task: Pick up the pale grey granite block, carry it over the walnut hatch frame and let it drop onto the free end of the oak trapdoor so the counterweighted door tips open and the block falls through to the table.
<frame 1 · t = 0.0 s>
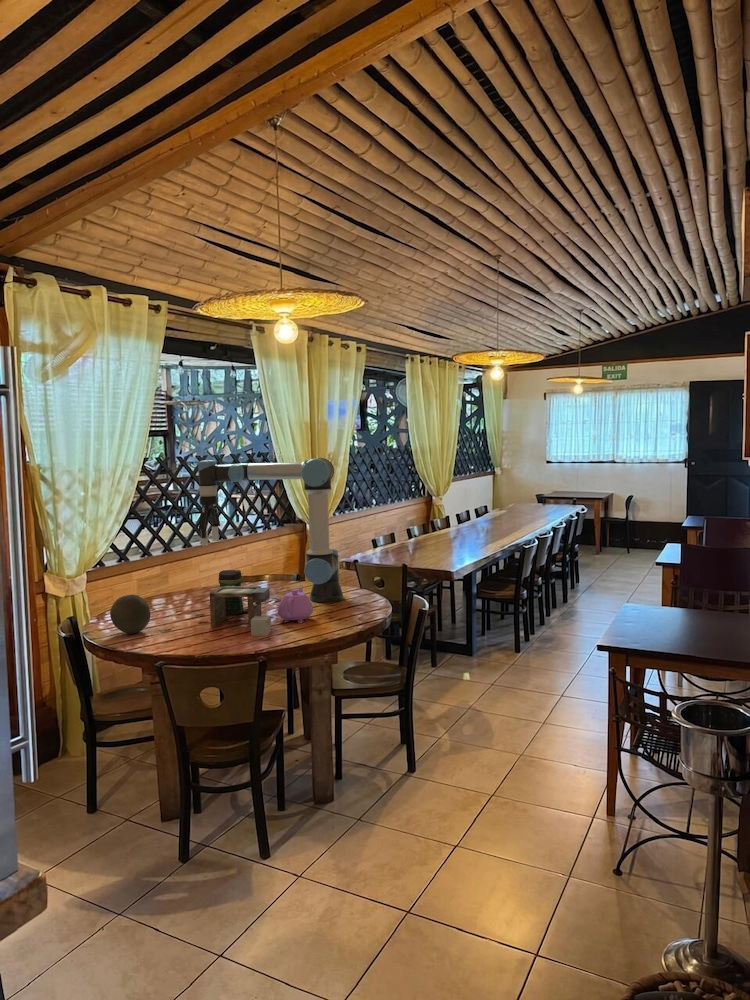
hand: (210, 543, 299), 28 cm above the table, fingers open, 13 cm apart
hatch frame: (236, 622, 271), on the table
pink rounded figure: (296, 620, 275), on the table
grey cube: (261, 633, 256), on the table
coffee jar: (231, 613, 287), on the table
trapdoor: (243, 595, 270), point 11 cm above the table, hinge at 0.0°
dark grey ball: (131, 634, 258), on the table
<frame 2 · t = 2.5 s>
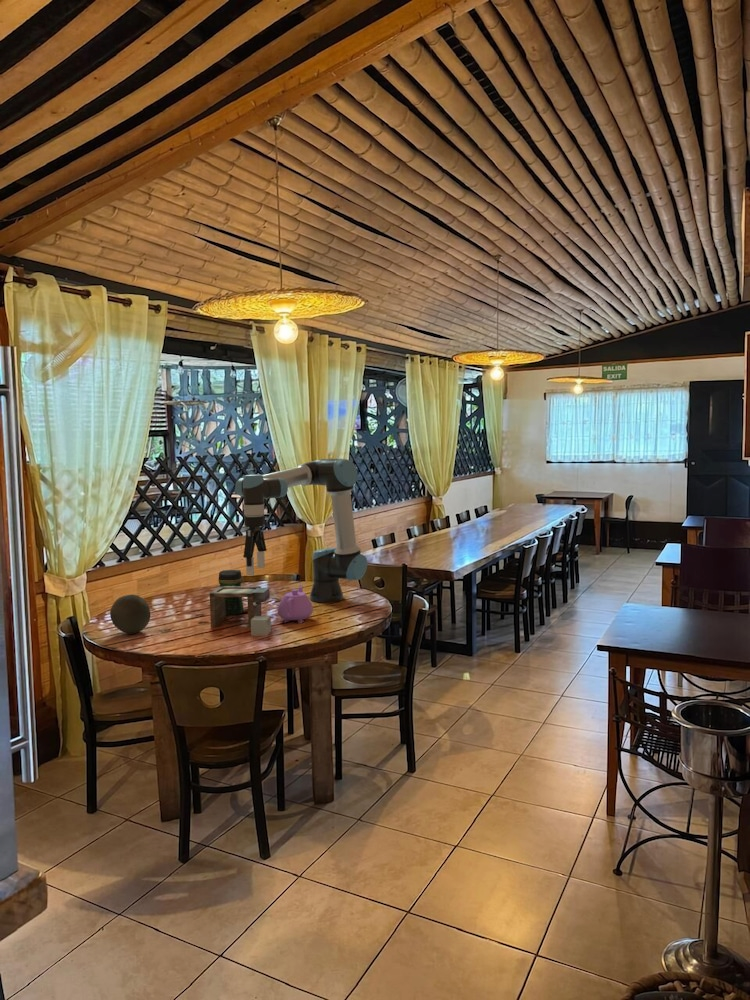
hand: (255, 571, 256), 23 cm above the table, fingers open, 13 cm apart
nothing on the table moved.
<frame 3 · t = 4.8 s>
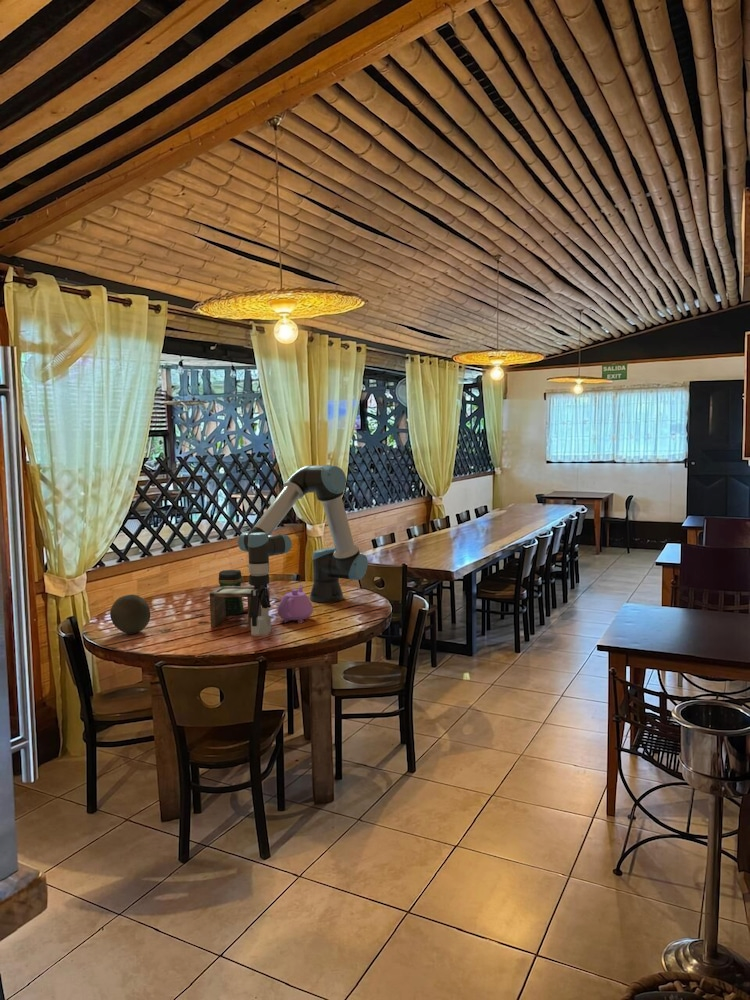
hand: (260, 629, 255), 1 cm above the table, fingers open, 13 cm apart
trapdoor: (243, 594, 270), point 11 cm above the table, hinge at 0.4°
everything else where it was.
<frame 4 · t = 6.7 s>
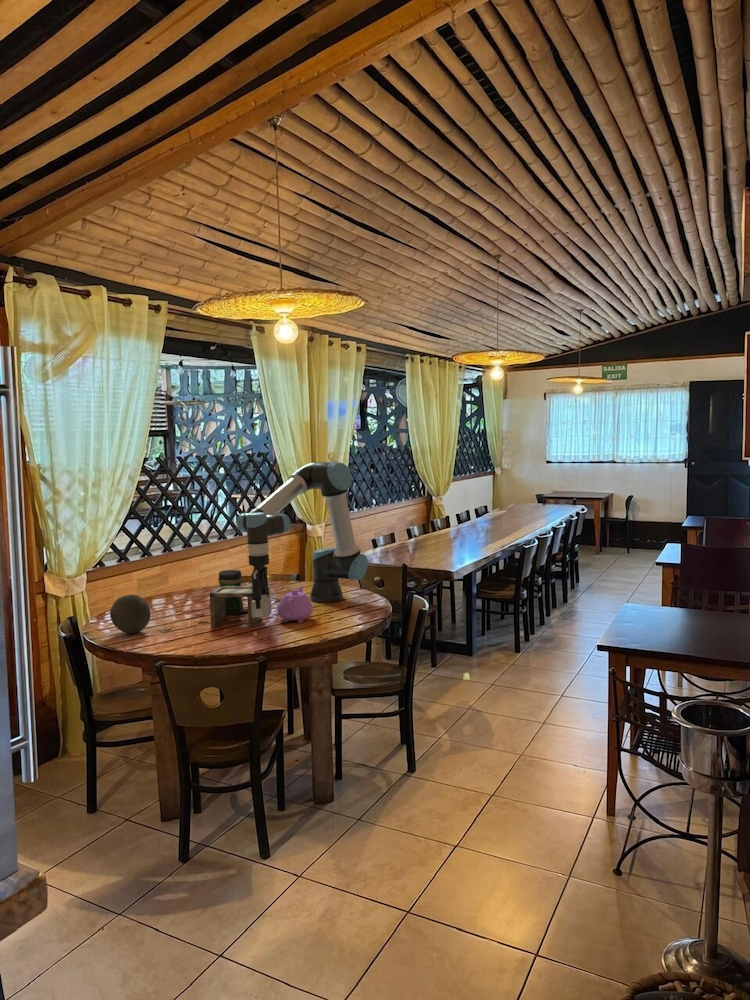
hand: (261, 614, 256), 7 cm above the table, fingers closed on grey cube, 6 cm apart
grey cube: (261, 615, 256), point 7 cm above the table, touching gripper
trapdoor: (243, 594, 270), point 11 cm above the table, hinge at 0.1°
everything else where it was.
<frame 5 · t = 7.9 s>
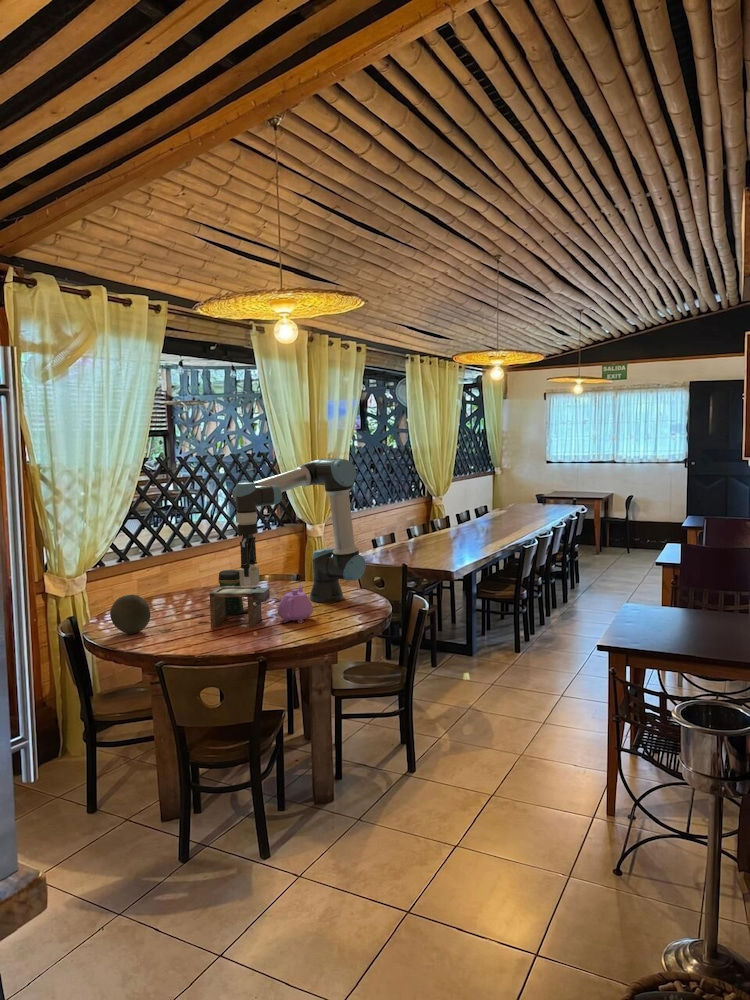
hand: (249, 582, 259), 18 cm above the table, fingers closed on grey cube, 6 cm apart
grey cube: (249, 583, 259), point 18 cm above the table, touching gripper
everything else where it was.
when the fingers open (14 cm above the table, at t = 9.6 s): grey cube drops 10 cm and tips over, resting on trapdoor.
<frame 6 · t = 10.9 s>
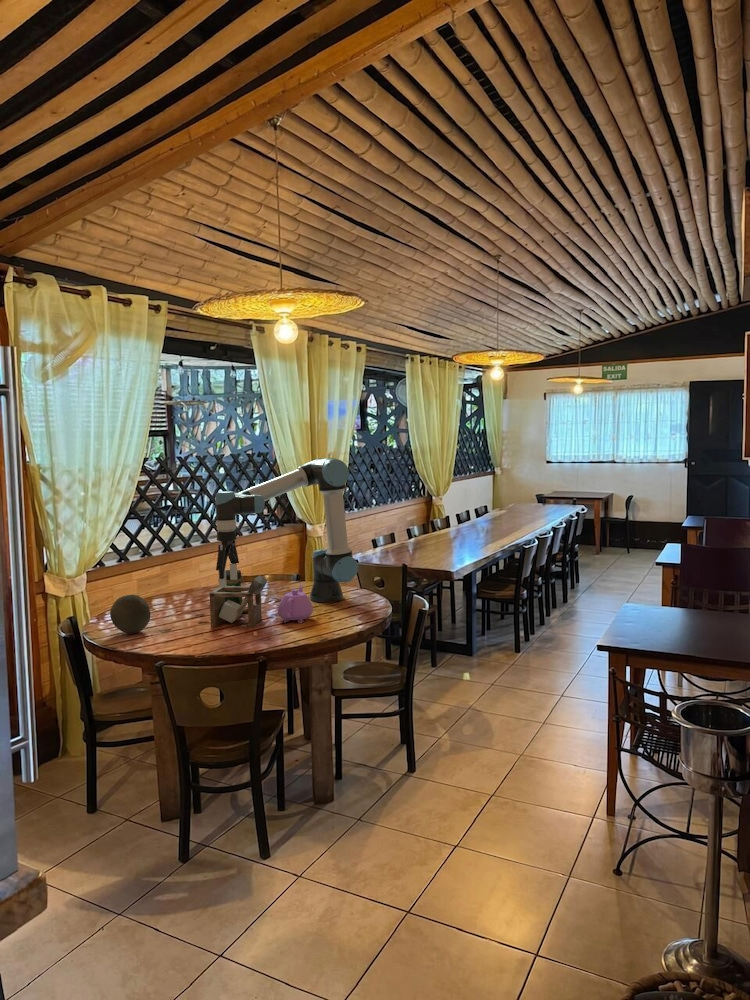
hand: (228, 583, 270), 16 cm above the table, fingers open, 13 cm apart
grey cube: (237, 614, 271), point 3 cm above the table, tilted 65°, touching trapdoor
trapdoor: (249, 599, 270), point 9 cm above the table, hinge at -59.7°, touching grey cube
everything else where it was.
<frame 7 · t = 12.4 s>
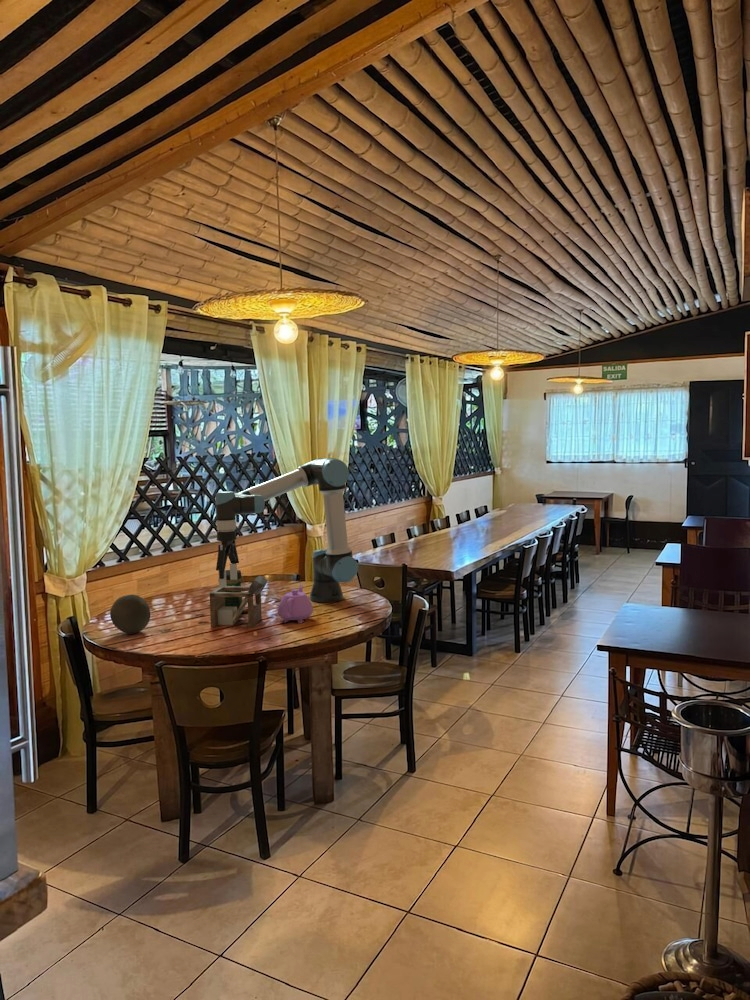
hand: (228, 583, 270), 16 cm above the table, fingers open, 13 cm apart
grey cube: (234, 615, 271), point 3 cm above the table, tilted 90°
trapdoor: (249, 599, 270), point 9 cm above the table, hinge at -58.4°
everything else where it was.
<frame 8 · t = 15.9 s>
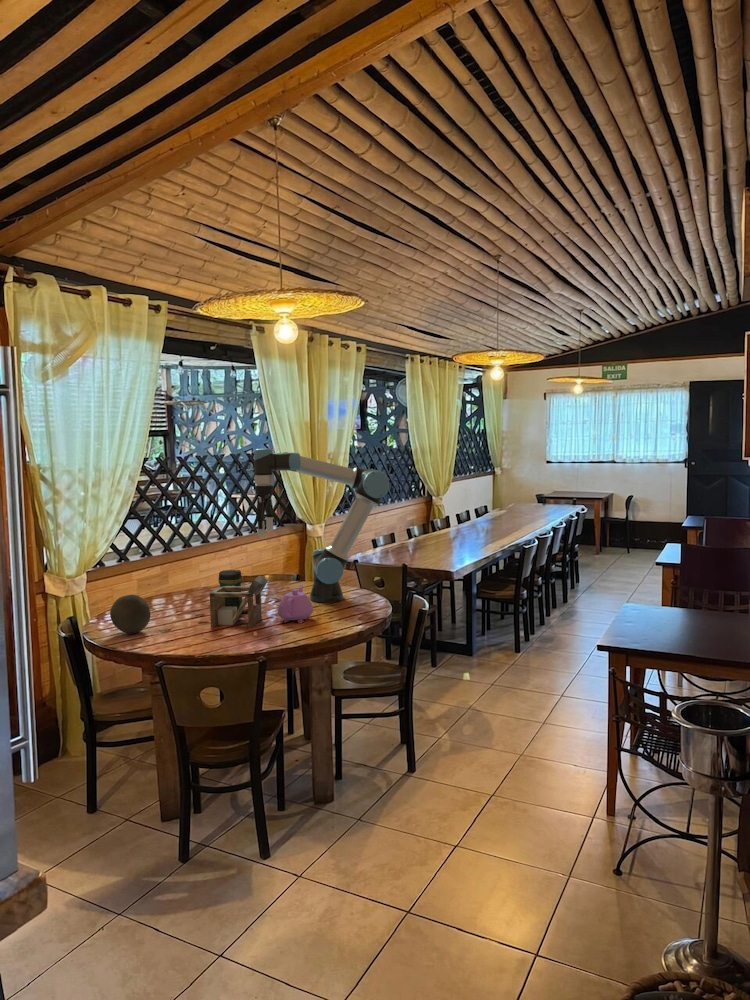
hand: (265, 534, 289), 33 cm above the table, fingers open, 13 cm apart
grey cube: (234, 615, 271), point 3 cm above the table, tilted 90°, touching hatch frame
everything else where it was.
at the end: grey cube point 2.9 cm above the table; grey cube inside the target area on the hatch frame (0.4 cm from its centre), point 2.9 cm above the hatch frame's base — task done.
